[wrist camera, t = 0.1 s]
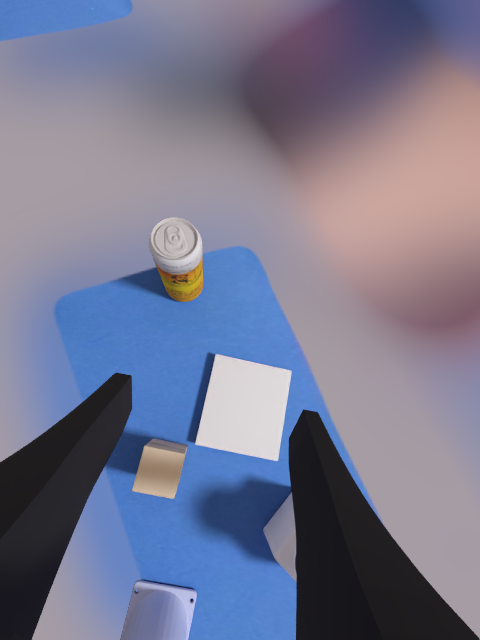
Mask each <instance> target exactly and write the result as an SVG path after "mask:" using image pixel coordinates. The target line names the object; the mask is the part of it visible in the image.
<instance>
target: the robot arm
mask: <svg viewBox="0 0 480 640" xmlns="http://www.w3.org/2000/svg"><path fill="white" fill-rule="evenodd" d="M131 410H132V376H131V375H126V374H121V373H115V374H114V375H112V376H111V377H110V378H109V379H108V380H107V381H106V382H105V383H104V384H103V385H102V386H101V387H99V388H98V389H97V390H96V391H95V392H94V393H93V394H92V395H90V396H89V397H88V398H87V399H86V400H85V401H83V402H82V403H81V404H80V405H79V406H77V407H76V408H75V409H74V410H73V411H72V412H70V413H69V414H68V415H67V416H65V417H64V418H63V419H62V420H60V421H59V422H58V423H56V424H55V425H54V426H52V427H51V428H50V429H48V430H47V431H46V432H44V433H43V434H42V435H40V436H39V437H38V438H36V439H35V440H33V441H32V442H31V443H29V444H28V445H26V446H25V447H23V448H22V449H20V450H19V451H17V452H16V453H14V454H13V455H11V456H10V457H8V458H6V459H5V460H3V461H2V462H0V640H32V637H33V634H34V631H35V629H36V626H37V623H38V621H39V618H40V615H41V613H42V610H43V607H44V605H45V602H46V599H47V597H48V594H49V591H50V589H51V586H52V584H53V581H54V579H55V576H56V574H57V571H58V568H59V566H60V564H61V561H62V559H63V556H64V554H65V551H66V549H67V546H68V544H69V541H70V539H71V537H72V534H73V532H74V529H75V527H76V525H77V522H78V520H79V518H80V515H81V513H82V511H83V508H84V506H85V504H86V501H87V499H88V497H89V495H90V493H91V491H92V489H93V487H94V485H95V483H96V481H97V479H98V478H99V476H100V474H101V472H102V470H103V468H104V466H105V464H106V463H107V461H108V459H109V457H110V455H111V453H112V451H113V450H114V448H115V446H116V444H117V442H118V440H119V438H120V436H121V434H122V432H123V430H124V427H125V425H126V423H127V420H128V417H129V415H130V412H131ZM289 471H290V481H291V490H292V500H293V509H294V518H295V530H296V563H297V610H296V640H479V638H478V637H477V635H476V634H474V632H473V631H472V630H471V629H470V628H469V627H468V626H467V625H466V624H465V622H464V621H463V620H462V619H461V618H460V617H459V616H458V615H457V614H456V613H455V612H454V611H453V609H452V608H451V607H450V606H449V605H448V604H447V603H446V602H445V601H444V600H443V599H442V598H441V596H440V595H439V594H438V593H437V592H436V591H435V589H434V588H433V587H432V586H431V585H430V583H429V582H428V581H427V580H426V579H425V578H424V577H423V575H422V574H421V573H420V572H419V571H418V569H417V568H416V567H415V566H414V565H413V563H412V562H411V560H410V559H409V558H408V557H407V555H406V554H405V553H404V552H403V550H402V549H401V548H400V547H399V545H398V544H397V543H396V541H395V540H394V539H393V538H392V536H391V535H390V534H389V532H388V531H387V529H386V528H385V527H384V525H383V524H382V523H381V521H380V520H379V518H378V517H377V515H376V514H375V512H374V511H373V510H372V508H371V507H370V505H369V504H368V502H367V500H366V499H365V497H364V496H363V494H362V493H361V491H360V489H359V488H358V486H357V484H356V483H355V481H354V480H353V478H352V476H351V474H350V473H349V471H348V469H347V467H346V466H345V464H344V462H343V460H342V458H341V457H340V455H339V453H338V451H337V449H336V447H335V445H334V444H333V442H332V440H331V438H330V436H329V434H328V432H327V430H326V428H325V426H324V424H323V422H322V420H321V418H320V416H319V414H318V412H314V411H308V410H303V411H302V413H301V415H300V417H299V419H298V421H297V423H296V425H295V427H294V429H293V431H292V433H291V435H290V437H289ZM135 589H138V590H139V591H138V592H136V591H135ZM196 597H197V592H196V591H195V590H193V589H187V588H181V587H176V586H170V585H164V584H158V583H152V582H147V581H141V580H138V581H136V582H135V584H134V588H133V591H132V596H131V600H130V603H129V607H128V611H127V615H126V619H125V623H124V628H123V631H122V635H121V639H120V640H188V637H189V632H190V627H191V622H192V617H193V612H194V607H195V602H196ZM191 598H192V599H194V600H193V601H190V599H191Z"/></svg>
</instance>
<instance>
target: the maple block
mask: <svg viewBox="0 0 480 640" xmlns="http://www.w3.org/2000/svg"><path fill="white" fill-rule="evenodd" d="M187 446H188V445H184V444H179V443H174V442H169V441H164V440H159V439H155V438H153V439H152V440H151V441H150V442H148V443H147V444H146V445H145V446H144V449H143V453H142V457H141V460H140V464H139V468H138V471H137V475H136V479H135V482H134V486H133V490H132V491H135V492H140V493H146V494H151V495H156V496H161V497H167V498H172V499H174V497H175V494H176V491H177V487H178V484H179V480H180V476H181V472H182V468H183V463H184V459H185V455H186V451H187Z"/></svg>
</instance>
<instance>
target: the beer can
mask: <svg viewBox="0 0 480 640" xmlns="http://www.w3.org/2000/svg"><path fill="white" fill-rule="evenodd" d="M149 248H150V251H151V254H152V256H153V259H154V261H155V264H156V266H157V269H158V271H159V274H160V276H161V279H162V281H163V284H164V286H165V289H166V291H167V293H168V294H169V296H170V297H172V298H173V299H175V300H177V301H180V302H188V301H191V300H194V299H195V298H197V297H198V296H199V295H200V293H201V291H202V289H203V260H202V240H201V236H200V234H199V232H198V231H197V229H196V228H195V227H194V226H193V225H192V224H191V223H190V222H188V221H187V220H184V219H182V218H176V217H173V218H167V219H164V220H162V221H160V222H159V223H158V224H157V225H156V226H155V227H154V228H153V230H152V233H151V236H150V239H149Z"/></svg>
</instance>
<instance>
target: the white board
mask: <svg viewBox="0 0 480 640" xmlns="http://www.w3.org/2000/svg"><path fill="white" fill-rule="evenodd" d="M291 372H292V371H290V370H285V369H281V368H276V367H272V366H267V365H263V364H258V363H254V362H249V361H245V360H240V359H236V358H231V357H227V356H222V355H218V354H216V356H215V360H214V364H213V369H212V373H211V377H210V382H209V386H208V391H207V395H206V399H205V404H204V408H203V412H202V417H201V421H200V425H199V430H198V434H197V438H196V443H195V445H200V446H205V447H210V448H215V449H220V450H225V451H230V452H235V453H240V454H245V455H250V456H255V457H260V458H264V459H269V460H274V461H278V456H279V450H280V443H281V437H282V430H283V424H284V417H285V411H286V404H287V398H288V392H289V385H290V379H291Z"/></svg>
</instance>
